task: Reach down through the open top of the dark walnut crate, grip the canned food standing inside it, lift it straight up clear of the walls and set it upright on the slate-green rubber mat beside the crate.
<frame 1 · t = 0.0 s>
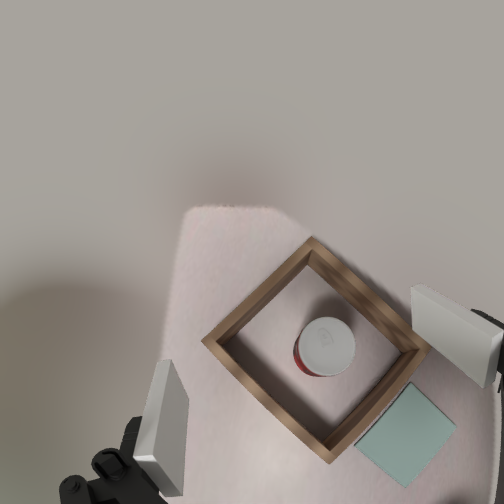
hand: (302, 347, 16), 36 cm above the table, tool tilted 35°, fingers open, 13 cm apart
canned food: (316, 352, 49), resting in crate
crate: (316, 352, 49), on the table
mat: (408, 437, 42), on the table
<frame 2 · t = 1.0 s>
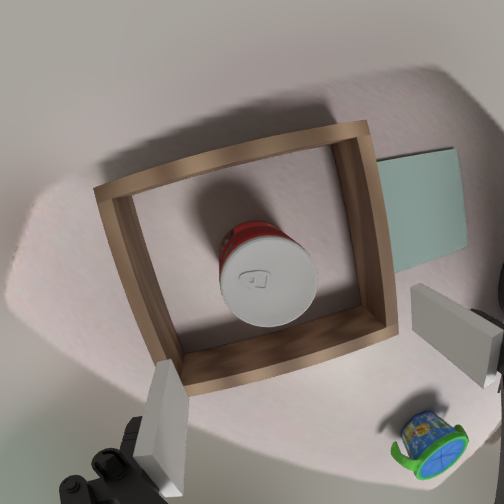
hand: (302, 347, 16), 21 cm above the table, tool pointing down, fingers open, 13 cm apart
snack cup: (416, 424, 46), on the table
canned food: (254, 253, 36), resting in crate
crate: (255, 254, 36), on the table
mat: (425, 208, 37), on the table
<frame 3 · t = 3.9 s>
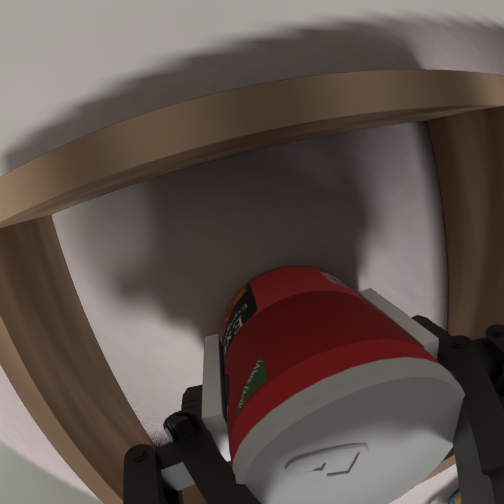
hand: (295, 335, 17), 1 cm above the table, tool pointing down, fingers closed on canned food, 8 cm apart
snack cup: (465, 488, 29), on the table
canned food: (290, 323, 18), resting in crate, touching gripper
crate: (290, 326, 18), on the table
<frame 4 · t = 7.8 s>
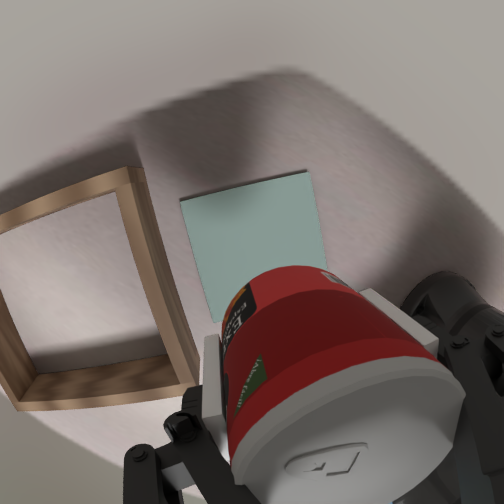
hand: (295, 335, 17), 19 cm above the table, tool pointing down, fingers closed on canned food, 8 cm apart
canned food: (289, 323, 18), point 17 cm above the table, touching gripper
crate: (72, 295, 34), on the table
mat: (259, 248, 35), on the table
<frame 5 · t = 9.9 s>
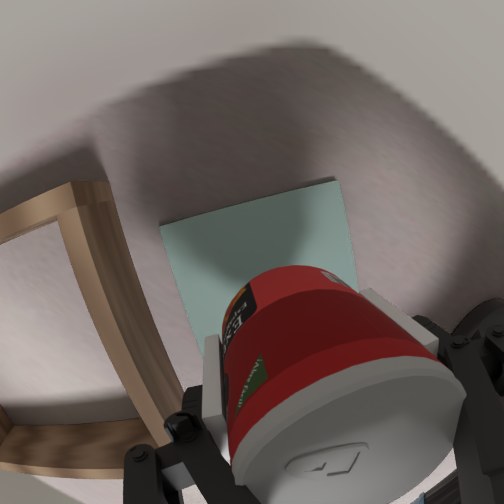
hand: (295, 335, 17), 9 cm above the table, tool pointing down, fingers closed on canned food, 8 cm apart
canned food: (289, 323, 18), point 7 cm above the table, touching gripper
crate: (35, 344, 24), on the table
mat: (271, 287, 25), on the table
when the fingers open (3 cm above the table, at t = 11.8 s): canned food drops 1 cm, resting on mat.
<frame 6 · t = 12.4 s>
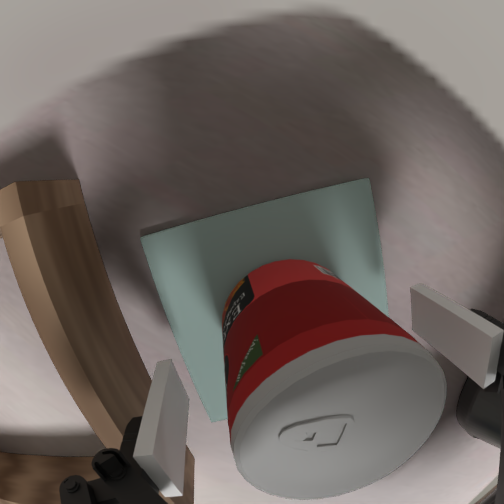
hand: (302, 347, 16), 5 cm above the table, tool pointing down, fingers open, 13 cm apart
canned food: (285, 314, 20), resting on mat
crate: (7, 371, 19), on the table
mat: (283, 312, 20), on the table
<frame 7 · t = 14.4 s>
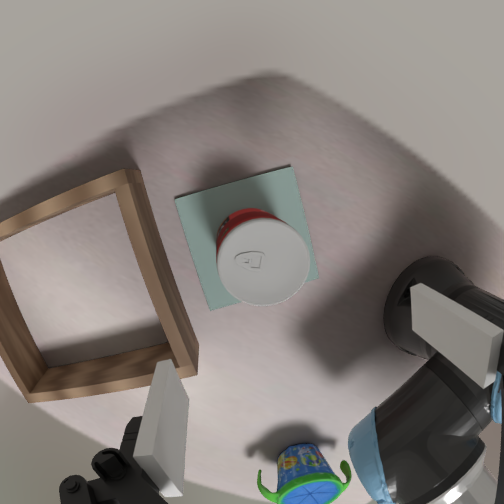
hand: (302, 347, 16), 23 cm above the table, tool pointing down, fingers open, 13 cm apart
snack cup: (297, 454, 48), on the table
canned food: (250, 239, 38), resting on mat
crate: (78, 290, 37), on the table
mat: (249, 239, 38), on the table
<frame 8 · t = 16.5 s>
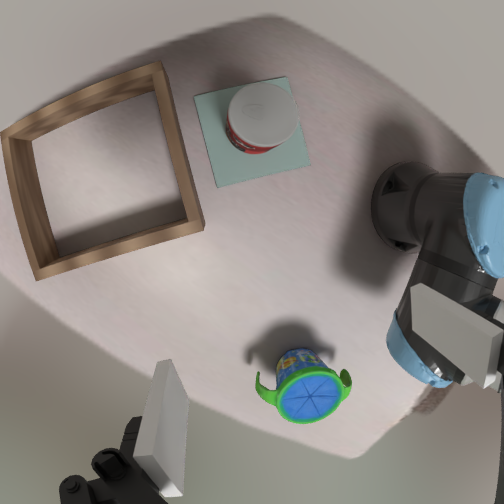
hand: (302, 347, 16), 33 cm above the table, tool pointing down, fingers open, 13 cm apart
snack cup: (296, 364, 53), on the table
canned food: (253, 129, 44), resting on mat
crate: (102, 174, 43), on the table
mat: (252, 129, 44), on the table
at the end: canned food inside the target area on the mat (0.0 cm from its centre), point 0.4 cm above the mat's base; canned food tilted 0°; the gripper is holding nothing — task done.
